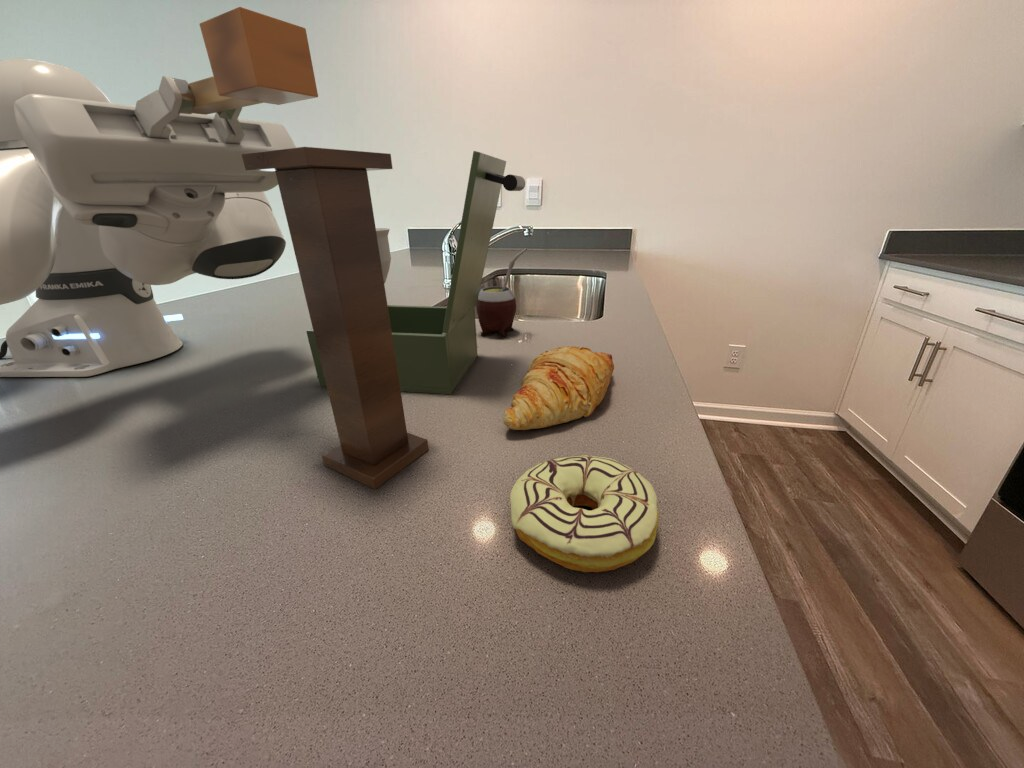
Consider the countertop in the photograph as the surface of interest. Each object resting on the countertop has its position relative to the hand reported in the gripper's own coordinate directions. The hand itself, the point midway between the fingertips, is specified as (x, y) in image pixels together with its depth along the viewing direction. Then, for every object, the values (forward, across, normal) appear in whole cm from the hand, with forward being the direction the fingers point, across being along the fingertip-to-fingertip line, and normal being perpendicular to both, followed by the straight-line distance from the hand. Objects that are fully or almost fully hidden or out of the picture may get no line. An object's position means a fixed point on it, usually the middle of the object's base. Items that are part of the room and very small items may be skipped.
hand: (205, 90), depth 33 cm
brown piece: (+3, 0, -3) cm, 4 cm away
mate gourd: (-13, -38, -29) cm, 50 cm away
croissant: (+5, -19, -39) cm, 44 cm away
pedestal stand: (-4, 0, -33) cm, 34 cm away
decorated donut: (+13, -1, -44) cm, 46 cm away
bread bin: (-16, -17, -27) cm, 36 cm away
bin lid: (+2, -21, -17) cm, 27 cm away
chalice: (-30, -28, -19) cm, 46 cm away
